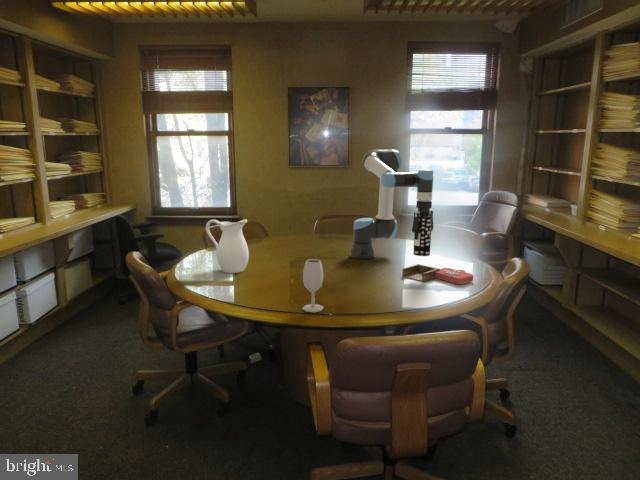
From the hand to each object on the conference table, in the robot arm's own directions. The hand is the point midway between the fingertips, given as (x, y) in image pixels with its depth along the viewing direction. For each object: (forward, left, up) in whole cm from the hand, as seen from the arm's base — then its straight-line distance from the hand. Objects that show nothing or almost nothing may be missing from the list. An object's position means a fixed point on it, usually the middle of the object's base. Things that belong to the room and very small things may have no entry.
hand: (422, 244), depth 244 cm
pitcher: (-79, -66, -18) cm, 105 cm away
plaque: (+14, +10, -17) cm, 24 cm away
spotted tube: (0, 0, -6) cm, 6 cm away
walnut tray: (0, +1, -18) cm, 18 cm away
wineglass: (-2, -74, -18) cm, 77 cm away
